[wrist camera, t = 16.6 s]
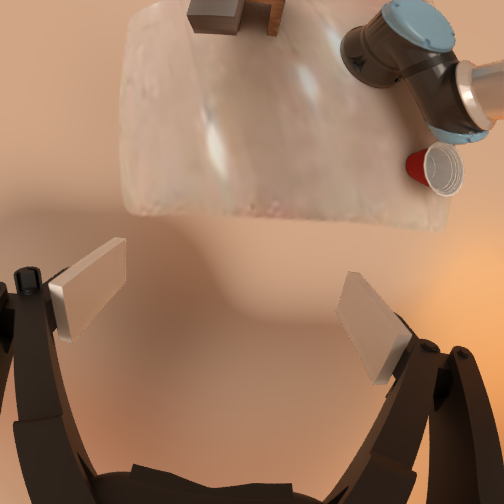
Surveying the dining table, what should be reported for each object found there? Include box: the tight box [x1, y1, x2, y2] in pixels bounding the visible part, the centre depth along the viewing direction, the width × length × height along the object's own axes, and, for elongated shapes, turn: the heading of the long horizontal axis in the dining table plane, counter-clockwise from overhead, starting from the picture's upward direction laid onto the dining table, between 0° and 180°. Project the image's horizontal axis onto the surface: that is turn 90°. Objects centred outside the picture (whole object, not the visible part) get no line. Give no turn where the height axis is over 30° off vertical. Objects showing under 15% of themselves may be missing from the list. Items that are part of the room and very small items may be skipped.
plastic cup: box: [406, 141, 465, 197], centre depth 46 cm, size 11×11×12 cm
